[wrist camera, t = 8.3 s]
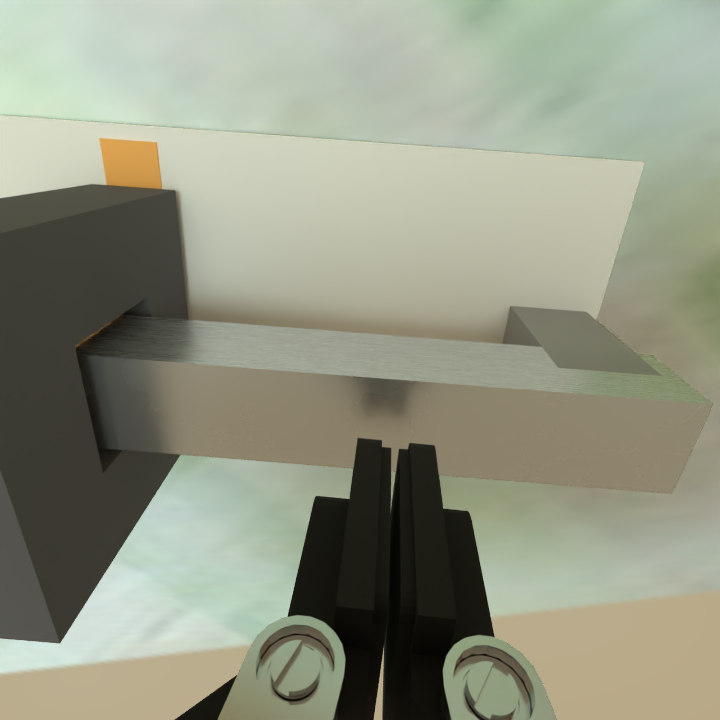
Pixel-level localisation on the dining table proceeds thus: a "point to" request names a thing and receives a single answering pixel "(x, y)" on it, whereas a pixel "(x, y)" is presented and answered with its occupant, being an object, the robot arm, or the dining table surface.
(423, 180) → the stand
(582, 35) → the dining table surface
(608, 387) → the metal square bar
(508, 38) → the dining table surface
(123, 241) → the collar
